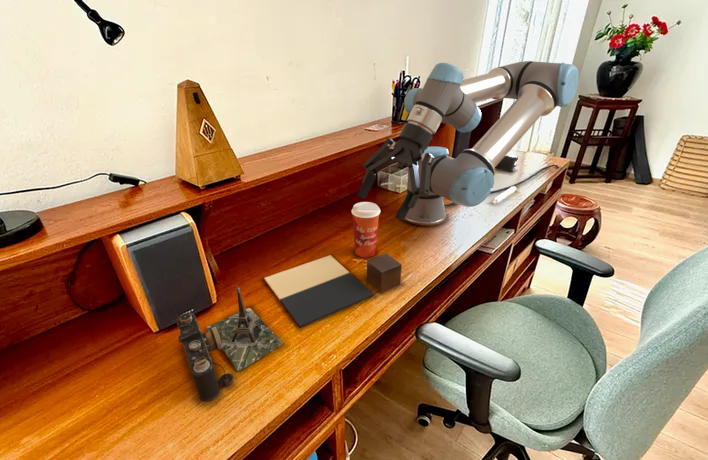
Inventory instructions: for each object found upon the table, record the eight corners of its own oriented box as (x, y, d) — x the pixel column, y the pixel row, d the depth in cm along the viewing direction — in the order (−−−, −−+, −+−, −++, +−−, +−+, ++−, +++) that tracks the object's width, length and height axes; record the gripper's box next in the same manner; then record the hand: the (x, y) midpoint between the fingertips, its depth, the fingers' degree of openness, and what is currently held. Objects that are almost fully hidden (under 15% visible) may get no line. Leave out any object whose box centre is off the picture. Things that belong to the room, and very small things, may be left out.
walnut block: (385, 272, 93) (386, 252, 91) (400, 284, 89) (401, 264, 86) (366, 280, 91) (366, 260, 88) (380, 292, 86) (381, 272, 83)
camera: (238, 387, 63) (231, 355, 59) (198, 406, 60) (188, 373, 56) (214, 330, 75) (207, 300, 71) (180, 343, 72) (170, 312, 68)
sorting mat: (330, 256, 100) (330, 254, 100) (373, 295, 85) (373, 293, 85) (264, 279, 91) (264, 277, 90) (299, 327, 76) (299, 325, 76)
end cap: (488, 169, 164) (490, 154, 160) (494, 165, 168) (497, 151, 165) (509, 174, 158) (513, 159, 155) (516, 170, 162) (519, 155, 159)
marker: (495, 206, 129) (496, 200, 128) (489, 204, 130) (490, 198, 129) (515, 191, 141) (517, 186, 139) (510, 190, 142) (511, 184, 141)
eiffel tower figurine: (205, 329, 76) (191, 277, 69) (249, 307, 82) (240, 257, 75) (238, 373, 66) (225, 317, 59) (286, 344, 72) (279, 291, 65)
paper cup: (355, 261, 98) (355, 214, 91) (348, 247, 104) (348, 202, 98) (383, 257, 100) (385, 211, 93) (374, 243, 106) (375, 199, 100)
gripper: (375, 110, 92) (338, 185, 95) (457, 136, 77) (410, 225, 79) (390, 122, 98) (355, 193, 101) (469, 149, 83) (425, 231, 85)
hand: (379, 207), depth 90 cm, fingers open, 13 cm apart
